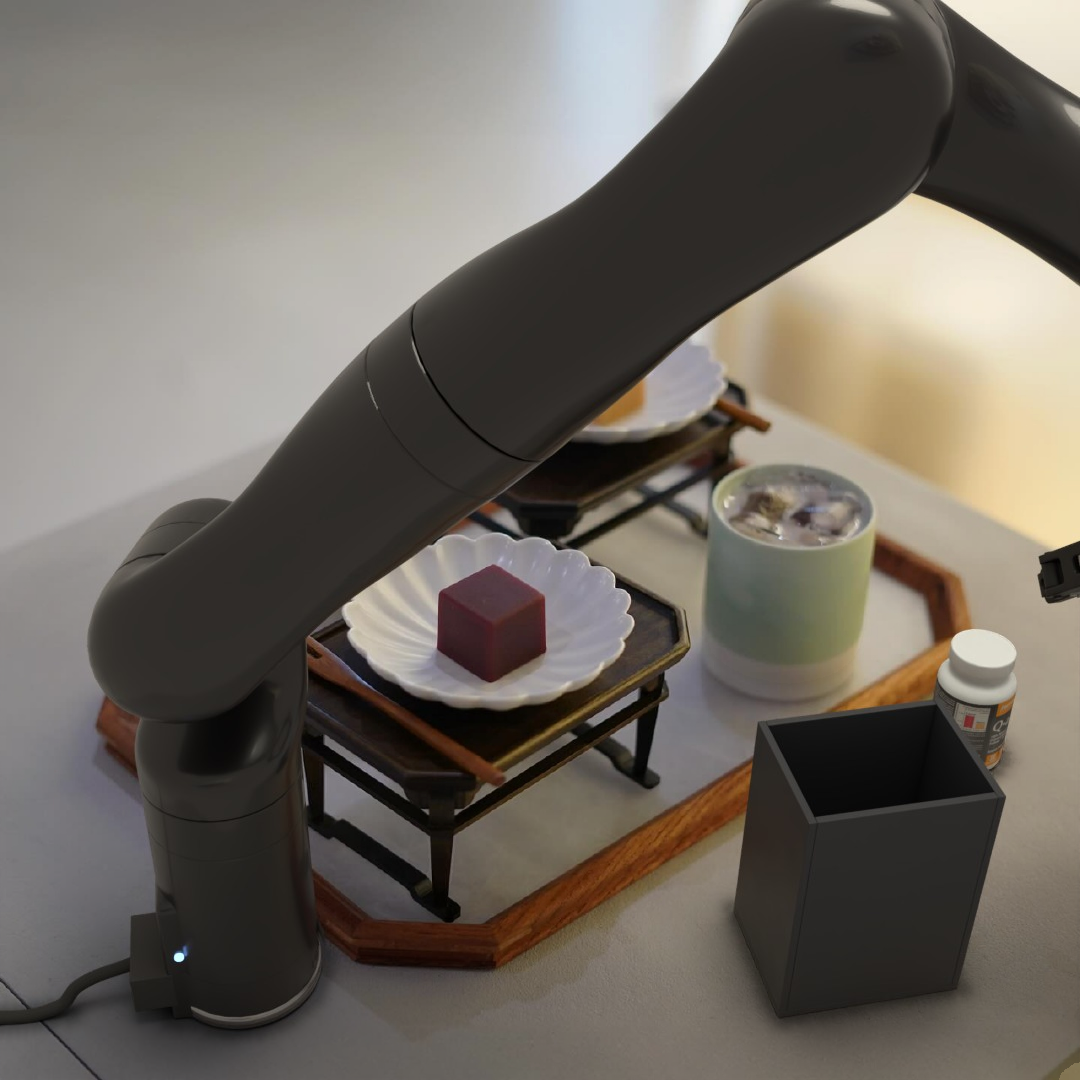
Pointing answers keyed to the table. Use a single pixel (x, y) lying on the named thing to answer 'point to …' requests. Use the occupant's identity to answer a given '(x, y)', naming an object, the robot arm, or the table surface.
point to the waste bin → (864, 854)
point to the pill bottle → (979, 689)
